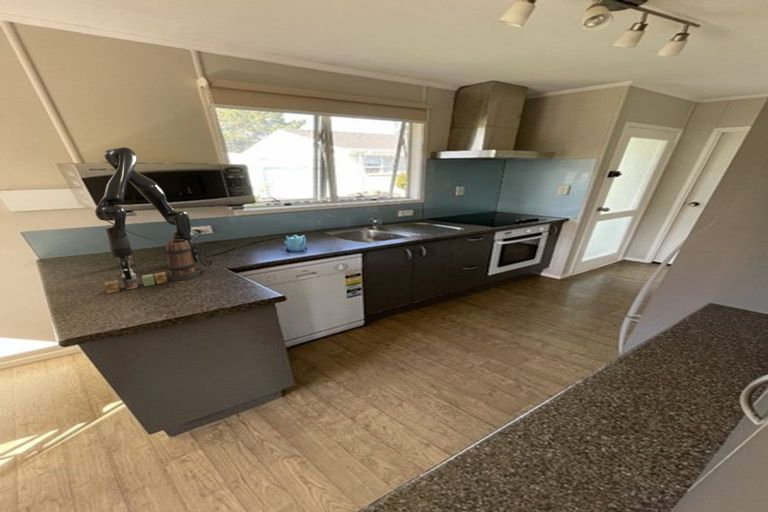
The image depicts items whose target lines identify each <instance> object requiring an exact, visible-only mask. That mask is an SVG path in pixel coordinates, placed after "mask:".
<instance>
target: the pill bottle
mask: <svg viewBox="0 0 768 512" xmlns="http://www.w3.org/2000/svg"><path fill="white" fill-rule="evenodd" d="M124 270H128V269H124ZM133 271H134V270H133V268H130V273H131V277H132V279H131V280H126V278H125V274H124V273H123V271H122V270H121V273H122V274H121V279H122V282H123V287H124V289H125V290H132V289H136V288H138V287H139V282H138V279H137V275H136V273H135V272H133Z"/></svg>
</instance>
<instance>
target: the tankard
mask: <svg viewBox="0 0 768 512" xmlns="http://www.w3.org/2000/svg"><path fill="white" fill-rule="evenodd" d="M198 245H200V249H198ZM191 248H194V250H196V251H197V252H199V253H198V258H199V262H200V263H201V264H202V265H203V266H204V267H206V268H207V267H211V266H212V265H213V261H212V259H211V258H207V259H205V263H204V262H203V259H202V254H201V253H203V251H204V244H203V243H202V242H201V241H197V242H195V243H194V244H193V247H191V246H190V245H189V243H188V241H187V240H181V239H177V240H174V239H171V240H169V241H166V242H165V250H164V252H165V254H166V259H167V269H168V273H167V274H166V278H167V281H183V280H188V279H192V278H195V277H197V276H199V275H200V274H201V273H202V271H201V270H200V269H199V268H197V267H196V261H195V262H194V260H193V256H192V252H191Z"/></svg>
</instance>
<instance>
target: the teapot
mask: <svg viewBox="0 0 768 512" xmlns="http://www.w3.org/2000/svg"><path fill="white" fill-rule="evenodd" d="M285 239H286V240H285V241H283V242H284V244H285V247H286V249H287V250H288V251H290V252H301V251H303V250H305V248H306V243H307V238H306V235H304V234H303V235H300V236H299V235H297V234H293V235H292V236H289V235H288V236H285Z"/></svg>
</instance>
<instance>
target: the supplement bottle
mask: <svg viewBox="0 0 768 512" xmlns="http://www.w3.org/2000/svg"><path fill="white" fill-rule="evenodd" d="M132 255H133V254H131V255H129V256H128V257H129V258H130V263H131V266H130V267H132V266H134V265H135V263H134V259H133V256H132ZM119 259H120V257H118V260H119Z"/></svg>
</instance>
